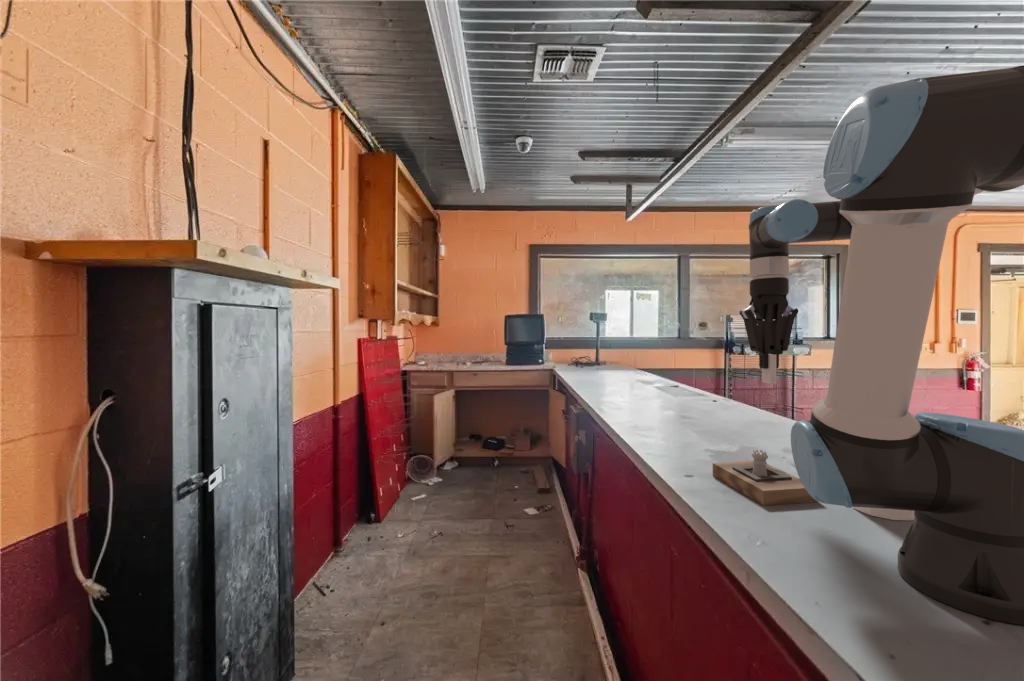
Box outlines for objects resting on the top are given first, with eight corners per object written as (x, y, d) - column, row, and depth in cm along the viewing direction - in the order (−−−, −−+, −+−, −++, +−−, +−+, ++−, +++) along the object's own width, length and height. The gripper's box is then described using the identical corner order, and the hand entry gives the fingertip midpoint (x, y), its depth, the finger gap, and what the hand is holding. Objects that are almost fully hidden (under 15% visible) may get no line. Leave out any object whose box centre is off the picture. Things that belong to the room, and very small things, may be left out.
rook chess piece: (774, 491, 93) (775, 455, 93) (752, 490, 94) (752, 454, 94) (766, 483, 98) (766, 449, 98) (745, 482, 99) (745, 448, 98)
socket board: (818, 501, 88) (818, 484, 87) (763, 505, 86) (763, 488, 86) (758, 472, 105) (758, 458, 105) (712, 475, 104) (712, 460, 104)
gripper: (782, 279, 101) (782, 380, 101) (731, 280, 99) (731, 382, 100) (808, 275, 93) (808, 384, 94) (753, 276, 92) (754, 386, 92)
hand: (769, 382), depth 97 cm, fingers closed
